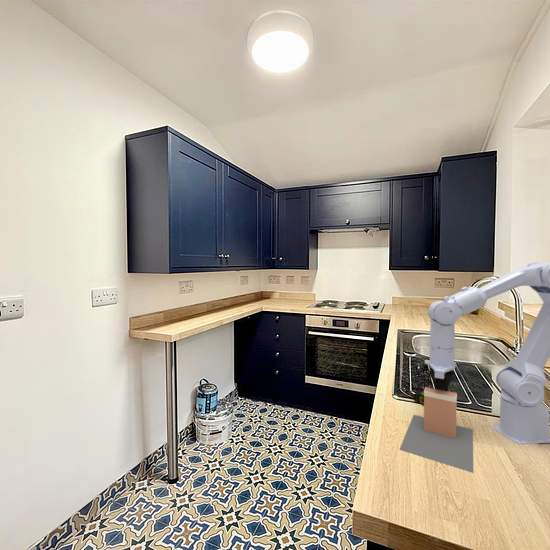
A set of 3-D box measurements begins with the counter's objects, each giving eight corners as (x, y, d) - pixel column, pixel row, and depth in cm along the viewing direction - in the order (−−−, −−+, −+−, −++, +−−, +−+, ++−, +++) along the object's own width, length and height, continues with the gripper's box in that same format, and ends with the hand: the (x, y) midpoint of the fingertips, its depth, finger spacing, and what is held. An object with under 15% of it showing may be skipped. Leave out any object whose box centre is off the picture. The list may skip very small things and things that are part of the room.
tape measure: (425, 398, 96) (425, 387, 96) (446, 406, 91) (446, 394, 91) (412, 403, 93) (412, 391, 93) (433, 412, 87) (433, 399, 87)
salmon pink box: (425, 424, 79) (425, 387, 79) (456, 432, 75) (456, 393, 75) (423, 429, 76) (423, 391, 76) (455, 438, 72) (456, 397, 72)
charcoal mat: (413, 416, 84) (413, 414, 84) (472, 430, 76) (472, 429, 76) (399, 451, 68) (399, 449, 67) (473, 474, 60) (473, 472, 60)
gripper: (428, 339, 87) (427, 385, 87) (421, 350, 75) (420, 403, 75) (456, 342, 83) (456, 391, 83) (454, 354, 71) (453, 411, 71)
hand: (441, 397), depth 79 cm, fingers closed
